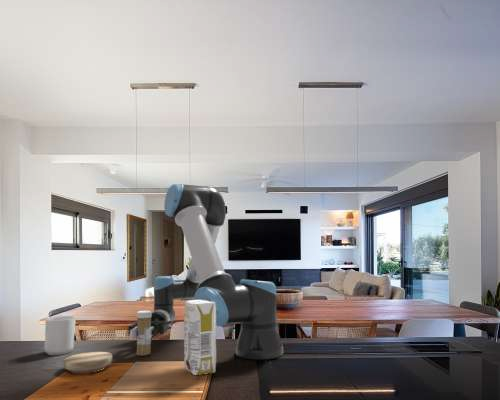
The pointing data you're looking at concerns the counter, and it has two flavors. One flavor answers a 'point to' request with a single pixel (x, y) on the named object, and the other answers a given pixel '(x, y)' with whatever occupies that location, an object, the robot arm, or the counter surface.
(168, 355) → the counter surface
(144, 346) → the spice jar
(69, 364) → the disc
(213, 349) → the juice carton
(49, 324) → the mug
